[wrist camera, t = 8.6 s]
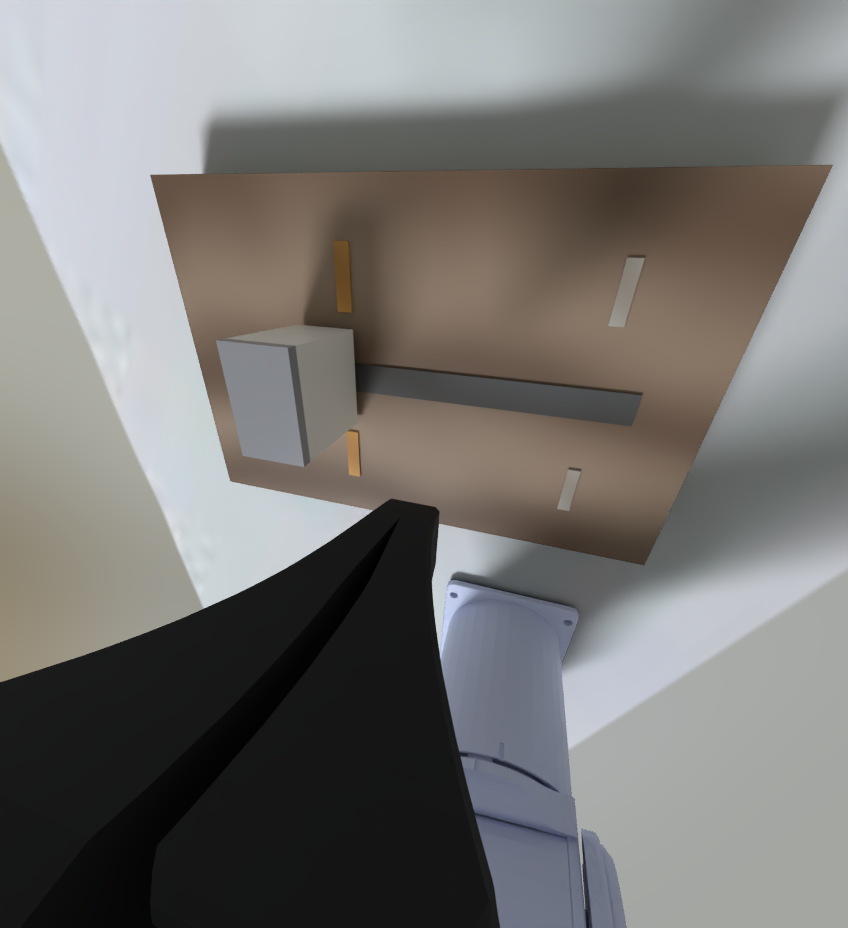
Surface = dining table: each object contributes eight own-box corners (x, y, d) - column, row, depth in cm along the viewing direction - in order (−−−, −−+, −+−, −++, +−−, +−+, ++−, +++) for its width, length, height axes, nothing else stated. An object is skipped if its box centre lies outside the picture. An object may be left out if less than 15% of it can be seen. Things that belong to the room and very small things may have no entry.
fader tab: (357, 422, 16) (304, 467, 12) (308, 415, 16) (242, 455, 13) (352, 329, 14) (287, 347, 10) (297, 324, 14) (215, 340, 11)
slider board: (630, 530, 18) (644, 566, 16) (258, 461, 22) (229, 482, 20) (774, 186, 11) (836, 163, 9) (202, 189, 16) (148, 174, 13)
